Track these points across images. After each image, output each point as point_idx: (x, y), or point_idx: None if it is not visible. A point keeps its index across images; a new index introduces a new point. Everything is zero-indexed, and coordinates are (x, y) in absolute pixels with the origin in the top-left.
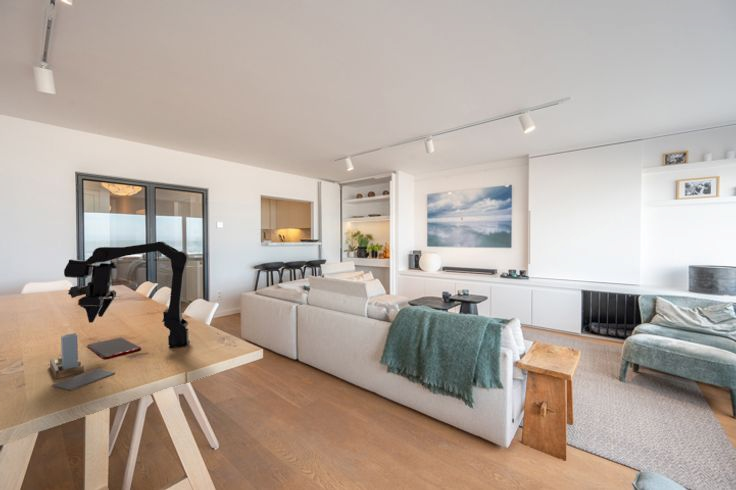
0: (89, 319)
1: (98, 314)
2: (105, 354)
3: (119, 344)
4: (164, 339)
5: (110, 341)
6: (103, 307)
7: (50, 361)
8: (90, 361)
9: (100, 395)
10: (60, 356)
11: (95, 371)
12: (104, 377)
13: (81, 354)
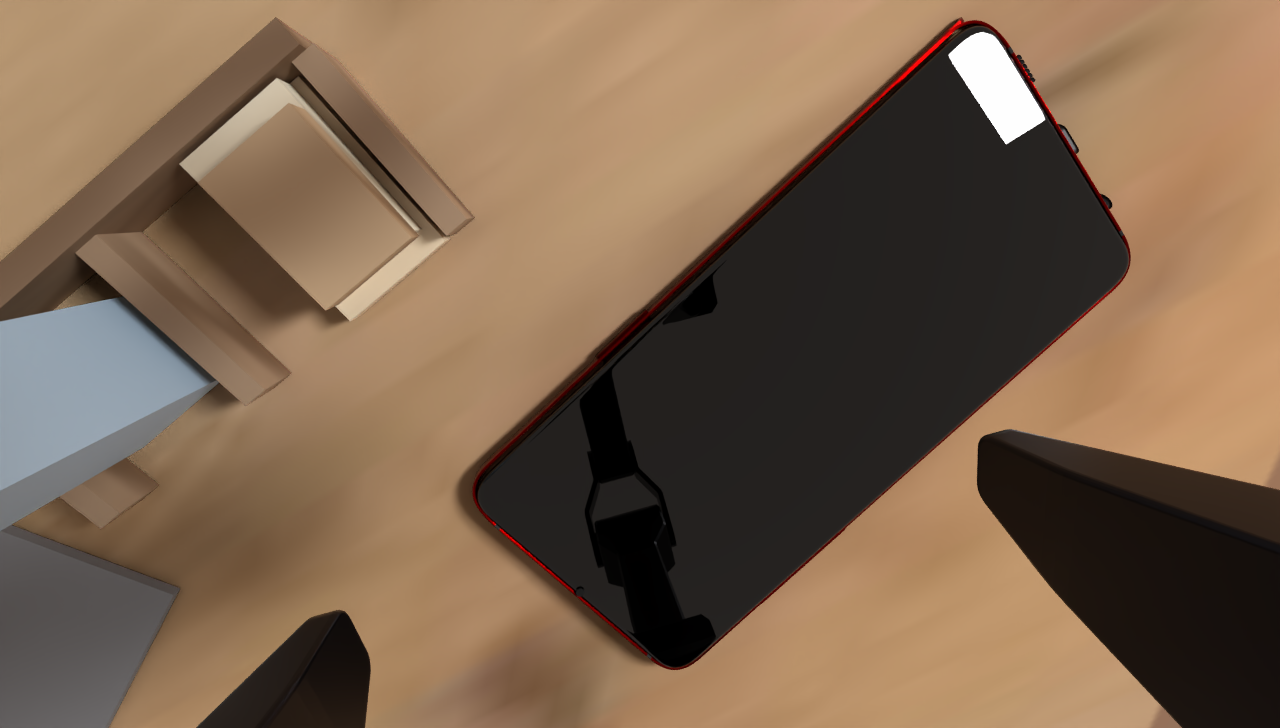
0: (254, 708)
1: (1027, 456)
2: (538, 460)
3: (853, 409)
4: (931, 700)
5: (1008, 241)
6: (1268, 709)
7: (256, 44)
8: (426, 383)
9: None
10: (288, 133)
11: (105, 620)
12: None
13: (672, 144)
